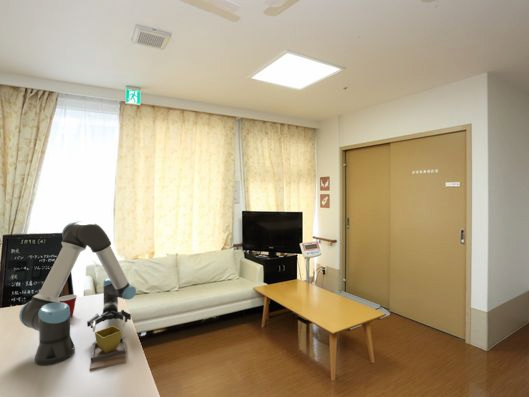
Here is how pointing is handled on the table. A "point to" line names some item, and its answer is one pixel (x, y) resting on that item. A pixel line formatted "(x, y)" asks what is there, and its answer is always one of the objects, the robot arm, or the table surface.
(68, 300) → the plastic cup
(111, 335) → the flower pot
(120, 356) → the tray
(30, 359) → the table surface
